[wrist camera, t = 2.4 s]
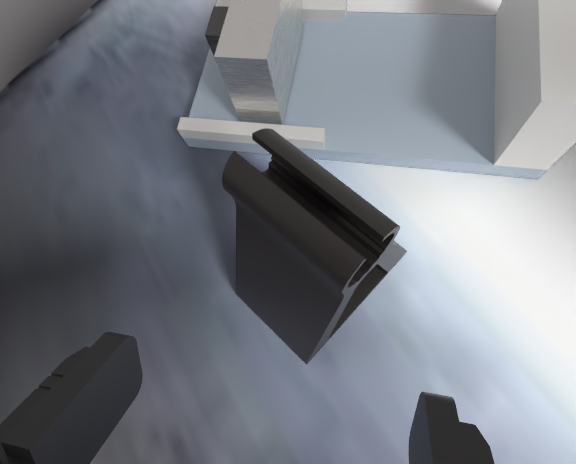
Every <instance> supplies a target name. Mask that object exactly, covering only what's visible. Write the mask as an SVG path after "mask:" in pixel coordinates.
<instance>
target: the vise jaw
mask: <svg viewBox="0 0 576 464" xmlns="http://www.w3.org/2000/svg"><path fill="white" fill-rule="evenodd" d="M303 27H304V17H303V7H302V0H231V1H230V4H229V7H225V6H214V8H213V11H212V15H211V18H210V21H209V24H208V27H207V31H206V34H205V36H206V39H207V41H208V43H209V46H210V48H211V51H212V53H213V56H214V58H215V61H216V63H217V65H218V68H219V70H220V73H221V75H222V78H223V80H224V83H225V85H226V88H227V90H228V93H229V95H230V97H231V100H232V102H233V105H234V107H235V110H236V112H237V115H238V117H239V120H240V122H251V123H264V124H277V125H283V121H284V116H285V112H286V107H287V102H288V98H289V93H290V88H291V83H292V79H293V74H294V69H295V65H296V60H297V55H298V50H299V46H300V41H301V36H302V32H303Z"/></svg>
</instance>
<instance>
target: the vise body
mask: <svg viewBox="0 0 576 464" xmlns="http://www.w3.org/2000/svg"><path fill="white" fill-rule="evenodd" d="M230 1H231V0H217V1H216V5H215V6H225V7H229V4H230ZM302 7H303V17H304V27H303V32H302V36H301V41H300V46H299V50H298V55H297V60H296V65H295V69H294V74H293V79H292V83H291V88H290V93H289V98H288V102H287V107H286V112H285V116H284V121H283V125H277V124H264V123H251V122H240V120H239V117H238V115H237V112H236V110H235V107H234V105H233V102H232V100H231V97H230V95H229V93H228V90H227V88H226V85H225V83H224V80H223V78H222V75H221V73H220V70H219V68H218V65H217V63H216V61H215V58H214V56H213V53H212V51H211V48H209V51H208V55H207V58H206V61H205V65H204V68H203V71H202V75H201V78H200V81H199V84H198V88H197V91H196V94H195V98H194V101H193V104H192V108H191V111H190V114H189V118H188V117H180V121H179V124H178V127H177V130H178V132H179V133H180V135H181V136H182V138H183V139H184V141H185V142H186V143H187V145H188V146H189V147H197V148H208V149H219V150H229V151H240V152H251V153H262V154H270V153H269V152H268V151H266V150H265V149H264V148H263V147H261V146H260V145H259V144H258V143H256V142H255V141H254V140H252V133H254V132H256V131H258V130H260V129H265V128H270V129H273V130H274V131H276V132H277V133H278V134H280V135H281V136H282V137H284V138H285V139H286V140H287V141H289V142H290V143H291V144H293V145H294V146H295V147H297V148H298V149H299V150H301V151H302V152H303V153H304V154H306V155H307V156H308V157H310V158H315V159H326V160H337V161H348V162H358V163H369V164H380V165H391V166H401V167H412V168H423V169H433V170H444V171H455V172H466V173H476V174H487V175H498V176H509V177H519V178H530V179H539V178H540V177H541V176H542V175H543V174H544V173H545V172H546V171H547V170H548V169H549V168H550V167H551V166H552V165H553V164H554V163H555V162H556V161H557V160H558V159H559V158H561V157H562V156H563V155H564V154H565V153H566V152H567V151H568V150H569V149H570V148H571V147H572V146H573V145H574V144H575V143H576V0H502V3H501V5H500V7H499V9H498V12H497V14H496V15H460V14H420V13H379V12H347V0H302Z"/></svg>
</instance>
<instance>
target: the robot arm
mask: <svg viewBox="0 0 576 464" xmlns="http://www.w3.org/2000/svg"><path fill="white" fill-rule="evenodd" d="M141 384H142V369H141V364H140V358H139V353H138V347H137V342H136V339H135V338H134V337H133V336H129V335H123V334H118V333H113V332H107V333H105V334H103V335H102V336H101V337H100V338H99V339H98V340H97V341H96V342H95V343H94V345H93V346H92V347H91V348H89V347H84V348H83V349H81V350H79V351H78V352H76V353H74V354H73V355H71V356H70V357H68V358H66V359H65V360H64V361H63V362H62V363H61V364H60V365H59V366H58V367H57V368H56V369H55V370H54V371H53V372H52V375H51V376H48V377H47V378H46V379H45V380H44V381H43V382H42V383H41V384H40V385H39V388H38V389H35V390H34V391H33V392H32V393H31V394H30V395H29V396H28V397H27V398H26V399H25V400H24V401H23V402H22V403H21V404H20V405H19V406H18V407H17V408H16V409H15V410H14V411H13V412H12V413H11V414H10V415H9V416H8V417H7V418H6V419H5V420H4V421H3V422H2V423H1V424H0V464H90V462H91V461H92V460H93V458H94V457H95V455H96V454H97V452H98V451H99V449H100V448H101V447H102V445H103V444H104V442H105V441H106V439H107V438H108V436H109V435H110V434H111V432H112V431H113V429H114V428H115V426H116V425H117V424H118V422H119V421H120V419H121V418H122V416H123V415H124V413H125V412H126V411H127V409H128V408H129V406H130V405H131V403H132V402H133V400H134V399H135V398H136V396H137V394H138V392H139V390H140V387H141ZM409 464H494V460H493V457H492V453H491V449H490V446H489V445H488V443H487V442H486V440H485V439H484V437H483V436H482V434H481V433H480V431H479V430H478V428H477V427H476V425H473V424H468V423H463V422H459V419H458V414H457V409H456V405H455V401H454V399H453V398H452V397H448V396H442V395H437V394H432V393H426V392H421V394H420V396H419V400H418V404H417V408H416V412H415V415H414V419H413V423H412V427H411V431H410V438H409Z"/></svg>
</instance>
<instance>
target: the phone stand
mask: <svg viewBox="0 0 576 464" xmlns="http://www.w3.org/2000/svg"><path fill="white" fill-rule="evenodd" d="M252 140H254V141H255V142H256V143H258V144H259V145H260V146H261V147H263V148H264V149H265V150H266V151H268V152H269V153H270V154H271V155H272V157H271V159H272V161H271V162H270V163H269V169H268V170H266V171H265V172H263V173H261V172H260V171H259V170H257V169H256V168H255V167H254V166H253V165H251V164H250V163H249V162H248V161H247V160H245V159H244V158H243V157H242V156H240V155H239V154H238V153H237V152H235V151H234V152H233V153H232V155H231V156H230V158H229V160H228V162H227V164H226V166H225V169H224V172H223V178H222V182H223V187H224V189H225V190H226V191H227V192H228V193H229V194H230V195H232V197H233V198H234V200H235V203H236V294H237V295H238V296H239V297H240V298H241V299H242V300H243V301H244V302H245V303H246V304H247V305H248V306H249V307H250V308H251V309H252V310H253V311H254V312H255V313H256V314H257V315H258V316H259V317H260V318H261V319H262V320H263V321H264V322H265V323H266V324H267V325H268V326H269V327H270V328H271V329H272V330H273V331H274V332H275V333H276V334H277V335H278V336H279V337H280V338H281V339H282V340H283V341H284V342H285V343H286V344H287V345H288V346H289V347H290V348H291V349H292V350H293V351H294V352H295V353H296V354H297V355H298V356H299V357H300V358H301V359H302V360H303V361H304V362H305V363H306V364H307V363H308V362H309V361H310V360H311V359H312V358H313V357H314V356H315V355H316V353H317V352H318V351H319V350H320V349H321V348H322V347H323V346H324V344H325V343H326V342H327V341H328V340H329V339H330V338H331V337H332V335H333V334H334V333H335V332H336V331H337V330H338V329H339V328H340V326H341V325H342V324H343V323H344V322H345V321H346V320H347V319H348V317H349V316H350V315H351V314H352V313H353V312H354V311H355V310H356V308H357V307H358V306H359V305H360V304H361V303H362V302H363V301H364V299H365V298H366V297H367V296H368V295H369V294H370V293H371V292H372V290H373V289H374V288H375V287H376V286H377V285H378V284H379V283H380V281H381V280H382V279H383V278H384V277H385V276H386V275H387V274H388V272H389V271H390V270H391V269H392V268H393V267H394V266H395V265H396V263H397V262H398V261H399V260H400V259H401V258H402V257H403V256H404V254H405V253H406V252H407V251H406V250H405V249H404V248H403V247H401V246H400V245H399V244H397V243H396V242H395V241H394V239H395V237H396V235H397V233H398V231H399V229H400V226H399V225H397V224H396V223H395V222H393V221H392V220H391V219H389V218H388V217H387V216H386V215H384V214H383V213H382V212H380V211H379V210H378V209H376V208H375V207H374V206H372V205H371V204H370V203H369V202H367V201H366V200H365V199H363V198H362V197H361V196H359V195H358V194H357V193H355V192H354V191H353V190H352V189H350V188H349V187H348V186H346V185H345V184H344V183H342V182H341V181H340V180H338V179H337V178H336V177H335V176H333V175H332V174H331V173H329V172H328V171H327V170H325V169H324V168H323V167H321V166H320V165H319V164H318V163H316V162H315V161H314V160H312V159H311V158H310V157H308V156H307V155H306V154H304V153H303V152H302V151H301V150H299V149H298V148H297V147H295V146H294V145H293V144H291V143H290V142H289V141H287V140H286V139H285V138H284V137H282V136H281V135H280V134H278V133H277V132H276V131H274V130H273V129H270V128H265V129H260V130H258V131H256V132H254V133H252Z"/></svg>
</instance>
